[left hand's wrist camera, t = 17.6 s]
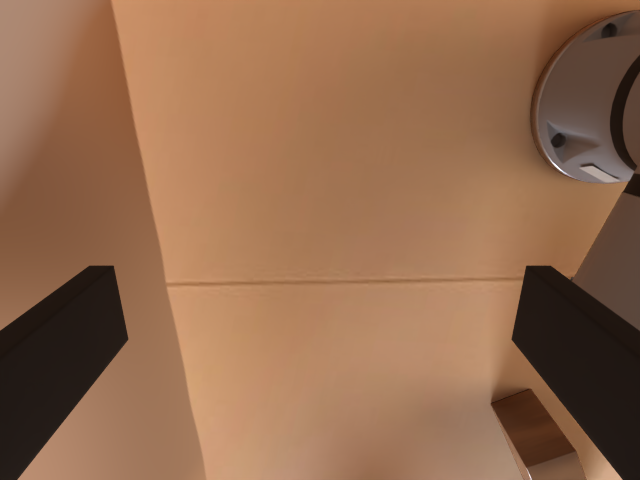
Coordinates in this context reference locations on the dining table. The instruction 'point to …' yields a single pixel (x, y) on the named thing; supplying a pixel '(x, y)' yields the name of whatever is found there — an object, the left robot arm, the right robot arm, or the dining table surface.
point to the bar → (536, 439)
